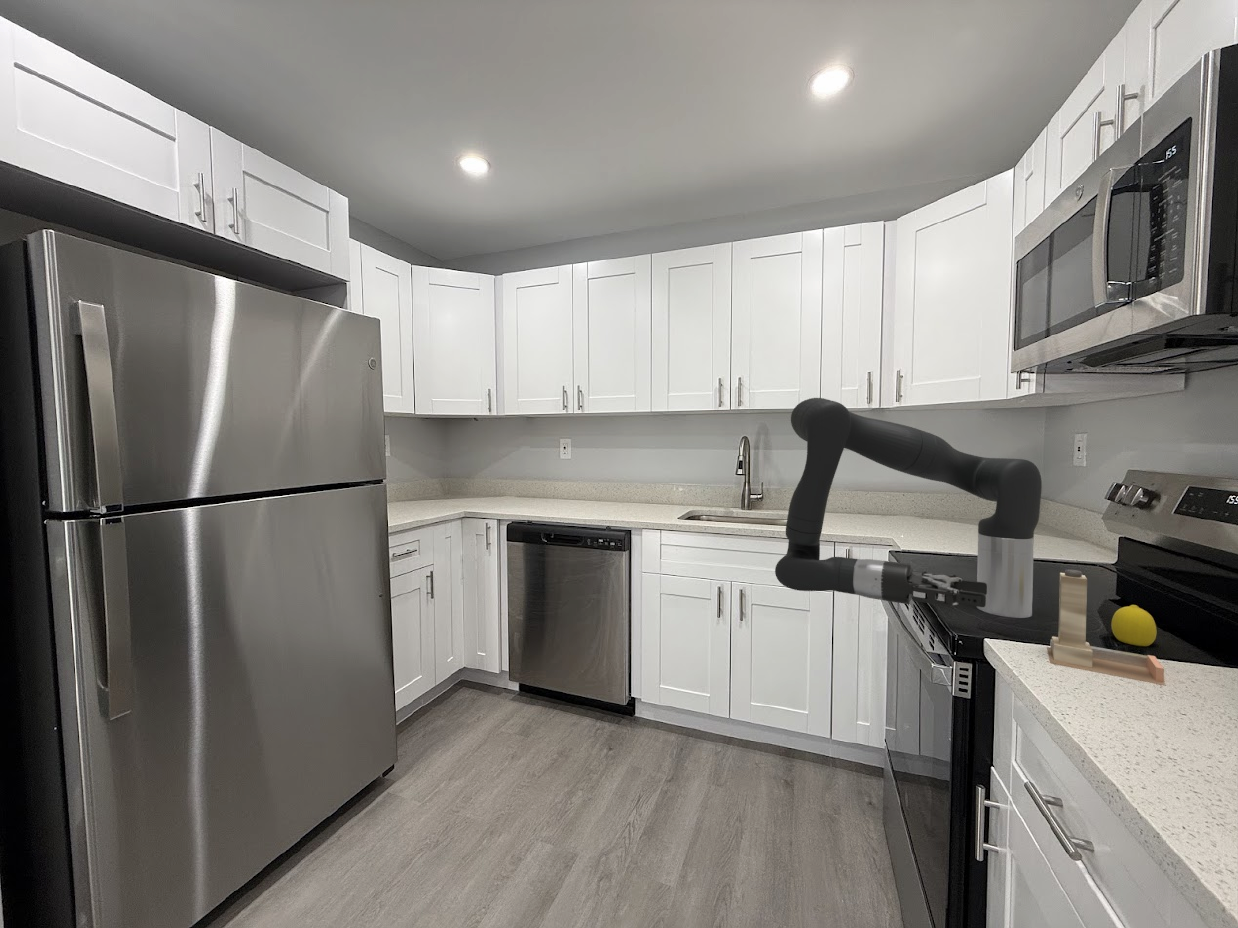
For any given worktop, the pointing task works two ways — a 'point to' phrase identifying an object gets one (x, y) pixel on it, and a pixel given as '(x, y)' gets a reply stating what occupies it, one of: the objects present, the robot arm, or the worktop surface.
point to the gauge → (1072, 621)
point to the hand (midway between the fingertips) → (986, 594)
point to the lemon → (1134, 626)
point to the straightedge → (1118, 656)
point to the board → (1112, 669)
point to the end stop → (1155, 668)
